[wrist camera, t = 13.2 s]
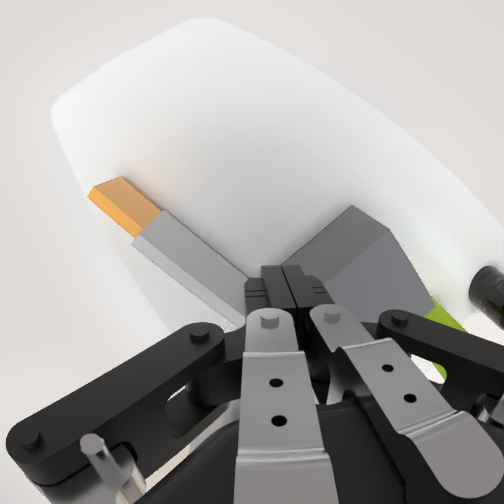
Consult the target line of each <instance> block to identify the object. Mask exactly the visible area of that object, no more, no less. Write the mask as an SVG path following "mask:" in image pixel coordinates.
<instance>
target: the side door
mask: <svg viewBox="0 0 504 504" xmlns="http://www.w3.org/2000/svg"><path fill="white" fill-rule="evenodd" d="M87 198H89V199H90V200H91V201H92V202H93V203H94V204H95V205H97V206H98V207H99V208H100V209H101V210H102V211H104V212H105V213H106V214H107V215H108V216H109V217H110V218H112V219H113V220H114V221H115V222H116V223H118V224H119V225H120V226H121V227H122V228H123V229H125V230H126V231H127V232H128V233H129V234H131V235H132V236H133V237H134V238H135V240H134V241H133V243H132V244H131V245H132V246H133V247H134V248H136V249H137V250H138V251H139V252H141V253H142V254H143V255H144V256H146V257H147V258H148V259H149V260H150V261H152V262H153V263H154V264H155V265H157V266H158V267H159V268H160V269H162V270H163V271H164V272H166V273H167V274H168V275H169V276H171V277H172V278H173V279H174V280H176V281H177V282H178V283H180V284H181V285H182V286H183V287H185V288H186V289H187V290H189V291H190V292H191V293H193V294H194V295H195V296H197V297H198V298H199V299H201V300H202V301H203V302H205V303H206V304H207V305H209V306H210V307H211V308H213V309H214V310H215V311H217V312H218V313H219V314H221V315H222V316H223V317H225V318H226V319H228V320H229V321H230V322H232V323H233V324H234V325H236V326H237V327H239V328H241V327H242V326H244V325H245V301H244V284H245V282H246V281H247V280H248V279H249V278H248V277H246V276H245V275H244V274H243V273H241V272H240V271H239V270H238V269H236V268H235V267H234V266H233V265H231V264H230V263H229V262H228V261H227V260H225V259H224V258H223V257H222V256H220V255H219V254H218V253H217V252H215V251H214V250H213V249H212V248H211V247H209V246H208V245H207V244H206V243H204V242H203V241H202V240H201V239H200V238H198V237H197V236H196V235H195V234H193V233H192V232H191V231H190V230H189V229H187V228H186V227H185V226H184V225H183V224H181V223H180V222H179V221H178V220H176V219H175V218H174V217H173V216H172V215H170V214H169V213H168V212H167V211H166V210H163V211H161V210H160V209H159V208H158V207H156V206H155V205H154V204H153V203H152V202H150V201H149V200H148V199H147V198H146V197H144V196H143V195H142V194H141V193H140V192H139V191H137V190H136V189H135V188H134V187H133V186H131V185H130V184H129V183H128V182H127V181H126V180H124V179H123V178H122V177H118V178H115V179H113V180H110V181H107V182H104V183H102V184H99V185H96V186H94V187H93V188H92V190H91V192H90V193H89V195H88V196H87Z"/></svg>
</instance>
